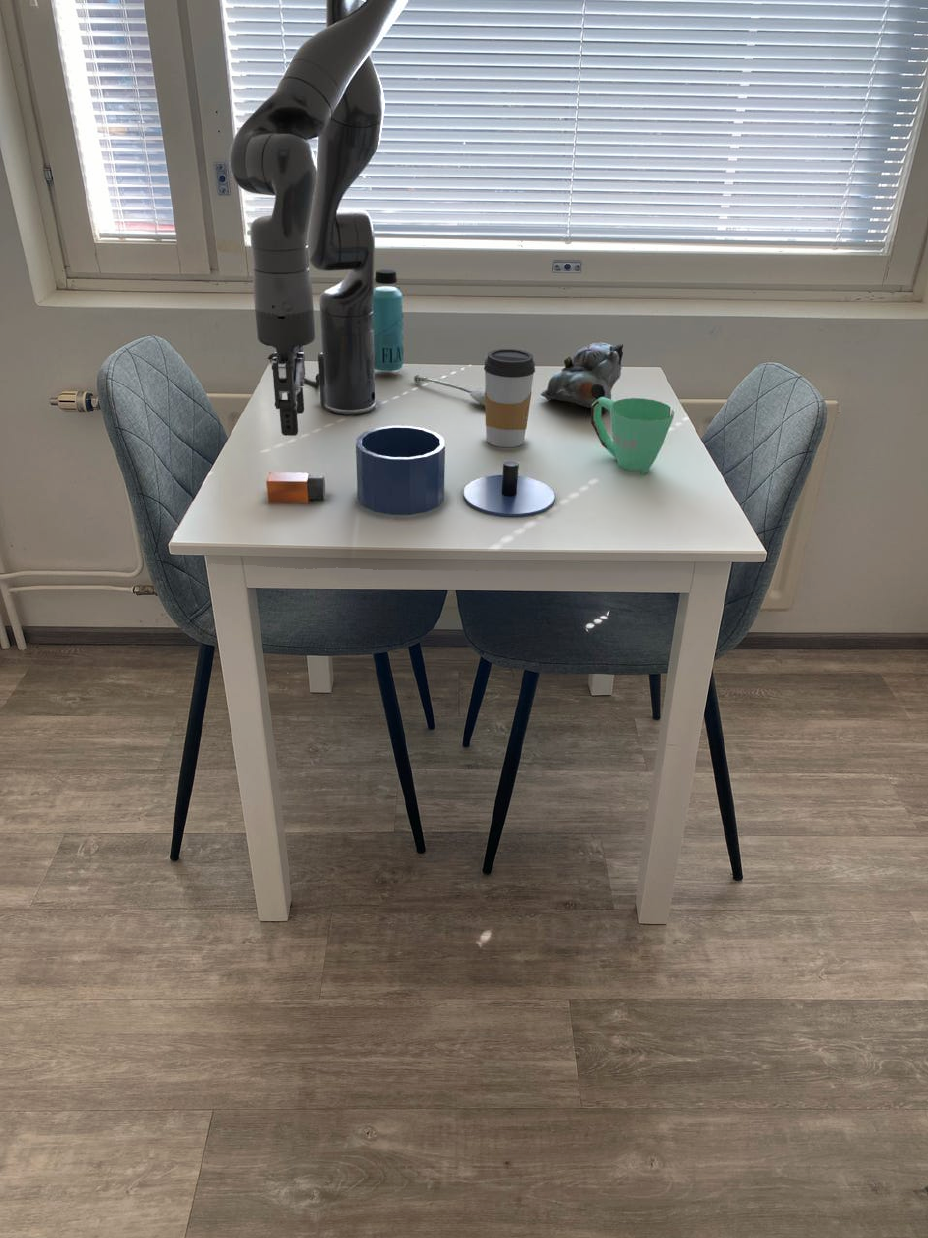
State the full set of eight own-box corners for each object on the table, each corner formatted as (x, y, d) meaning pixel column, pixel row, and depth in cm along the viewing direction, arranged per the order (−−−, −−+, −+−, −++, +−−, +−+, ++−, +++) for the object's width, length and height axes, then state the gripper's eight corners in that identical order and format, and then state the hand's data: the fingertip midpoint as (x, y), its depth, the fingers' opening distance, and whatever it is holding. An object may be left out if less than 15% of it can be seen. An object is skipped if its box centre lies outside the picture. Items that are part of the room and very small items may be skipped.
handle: (268, 502, 130) (266, 481, 128) (271, 492, 133) (269, 471, 131) (323, 503, 131) (322, 481, 129) (325, 493, 133) (324, 472, 132)
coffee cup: (525, 455, 148) (532, 365, 140) (476, 449, 149) (480, 360, 141) (532, 437, 155) (539, 350, 147) (485, 432, 156) (489, 345, 148)
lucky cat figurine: (533, 394, 173) (562, 325, 170) (587, 418, 176) (616, 350, 174) (555, 397, 159) (587, 322, 156) (613, 424, 162) (645, 350, 160)
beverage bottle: (379, 380, 178) (376, 274, 167) (366, 370, 183) (363, 267, 172) (409, 376, 180) (408, 272, 169) (395, 366, 185) (394, 265, 174)
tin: (356, 518, 127) (353, 458, 122) (360, 481, 137) (358, 425, 133) (444, 518, 128) (446, 459, 123) (442, 481, 138) (443, 426, 133)
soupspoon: (493, 417, 164) (515, 410, 169) (495, 399, 162) (517, 392, 167) (405, 385, 175) (427, 379, 180) (406, 368, 173) (428, 362, 178)
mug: (676, 470, 145) (687, 410, 139) (638, 486, 139) (648, 424, 134) (607, 443, 154) (614, 386, 148) (568, 457, 148) (574, 398, 143)
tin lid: (465, 520, 127) (466, 482, 124) (461, 480, 139) (462, 444, 136) (560, 521, 128) (563, 483, 125) (548, 481, 140) (551, 445, 136)
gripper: (262, 291, 122) (272, 406, 131) (246, 317, 110) (259, 442, 119) (317, 291, 123) (324, 406, 132) (308, 318, 111) (316, 442, 120)
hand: (293, 423), depth 125 cm, fingers open, 8 cm apart
